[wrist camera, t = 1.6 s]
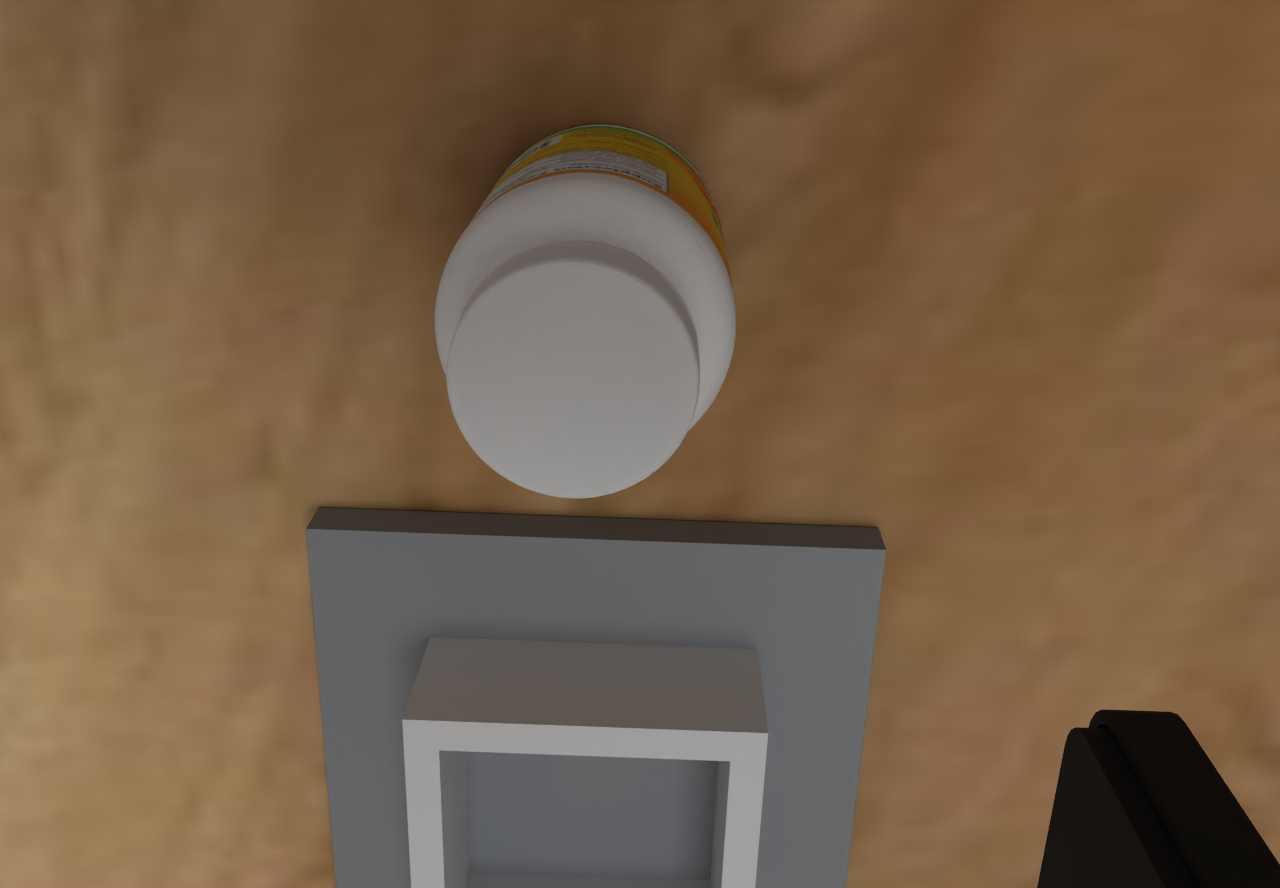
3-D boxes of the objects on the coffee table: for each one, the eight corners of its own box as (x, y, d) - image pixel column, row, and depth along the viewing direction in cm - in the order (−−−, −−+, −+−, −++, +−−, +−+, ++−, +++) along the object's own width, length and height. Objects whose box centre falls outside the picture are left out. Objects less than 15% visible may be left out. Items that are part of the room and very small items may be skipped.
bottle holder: (319, 507, 31) (261, 602, 26) (878, 527, 31) (913, 625, 26) (352, 936, 36) (309, 1073, 32) (828, 954, 36) (850, 1094, 32)
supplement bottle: (705, 365, 29) (722, 557, 20) (478, 339, 29) (394, 523, 20) (737, 135, 27) (771, 235, 18) (493, 106, 27) (405, 193, 18)
